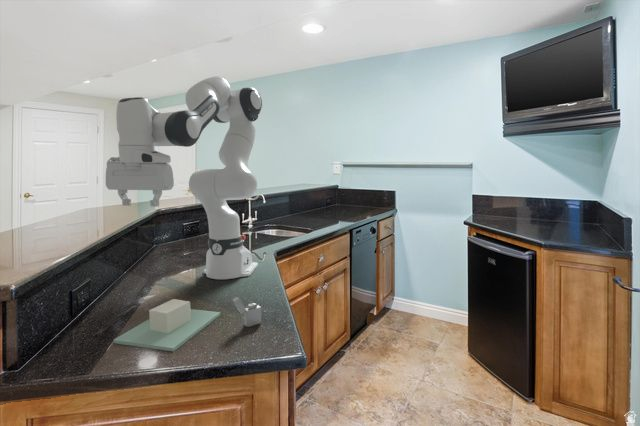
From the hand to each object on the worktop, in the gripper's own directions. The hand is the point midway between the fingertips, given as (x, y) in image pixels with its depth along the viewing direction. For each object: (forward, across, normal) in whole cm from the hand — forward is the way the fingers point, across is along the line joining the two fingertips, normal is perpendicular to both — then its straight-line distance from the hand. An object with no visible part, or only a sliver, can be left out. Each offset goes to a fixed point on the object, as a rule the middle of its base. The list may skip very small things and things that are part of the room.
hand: (140, 206), depth 103 cm
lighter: (+29, +35, -6) cm, 46 cm away
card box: (+28, +17, -12) cm, 35 cm away
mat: (+29, +17, -12) cm, 36 cm away
